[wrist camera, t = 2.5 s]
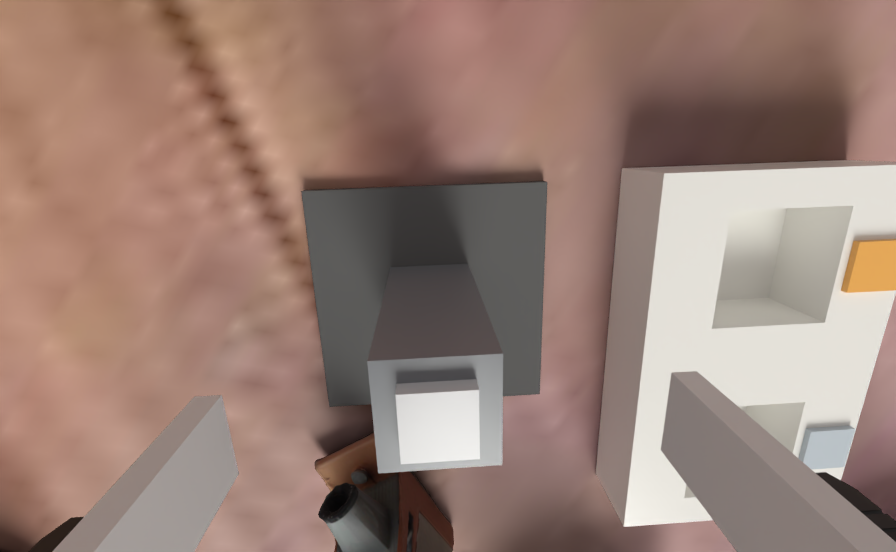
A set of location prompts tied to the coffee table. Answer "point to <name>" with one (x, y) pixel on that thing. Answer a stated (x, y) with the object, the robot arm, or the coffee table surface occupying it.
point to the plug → (435, 373)
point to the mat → (422, 244)
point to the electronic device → (378, 505)
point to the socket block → (743, 312)
